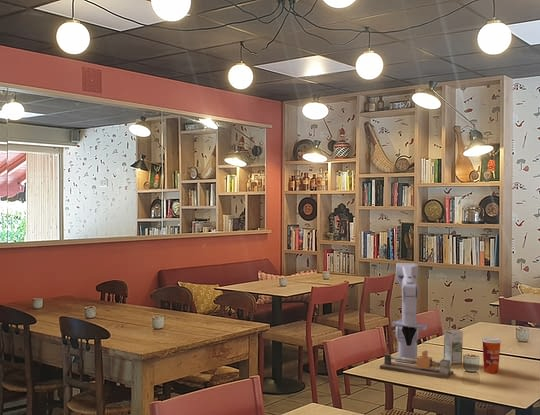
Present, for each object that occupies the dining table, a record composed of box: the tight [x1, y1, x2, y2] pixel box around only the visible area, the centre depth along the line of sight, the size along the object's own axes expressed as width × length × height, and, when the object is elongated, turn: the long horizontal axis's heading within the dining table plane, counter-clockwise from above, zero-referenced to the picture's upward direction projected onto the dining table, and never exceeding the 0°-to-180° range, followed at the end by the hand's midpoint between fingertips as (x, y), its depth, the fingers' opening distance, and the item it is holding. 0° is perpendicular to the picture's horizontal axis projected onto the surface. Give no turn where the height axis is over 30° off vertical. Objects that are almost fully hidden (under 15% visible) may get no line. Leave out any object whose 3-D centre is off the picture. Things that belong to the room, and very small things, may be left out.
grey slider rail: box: [379, 353, 454, 380], centre depth 269 cm, size 10×28×6 cm, turn 58°
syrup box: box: [443, 328, 464, 365], centre depth 286 cm, size 6×6×14 cm
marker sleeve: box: [416, 350, 433, 369], centre depth 267 cm, size 4×5×6 cm
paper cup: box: [481, 336, 502, 374], centre depth 270 cm, size 8×8×14 cm
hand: (408, 345), depth 273 cm, fingers closed
